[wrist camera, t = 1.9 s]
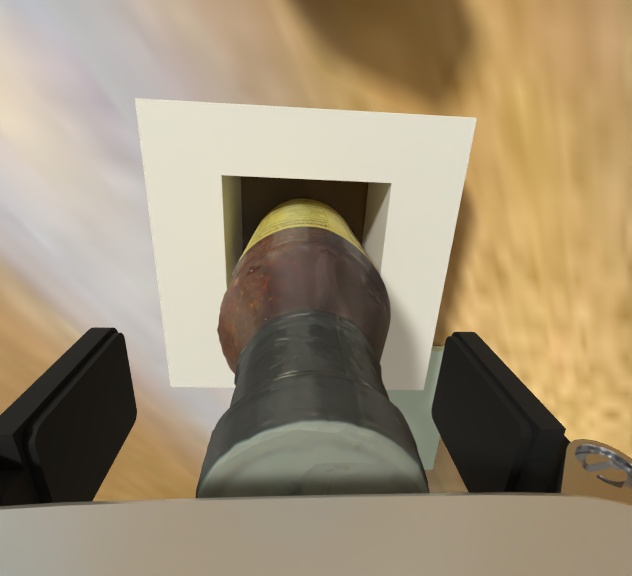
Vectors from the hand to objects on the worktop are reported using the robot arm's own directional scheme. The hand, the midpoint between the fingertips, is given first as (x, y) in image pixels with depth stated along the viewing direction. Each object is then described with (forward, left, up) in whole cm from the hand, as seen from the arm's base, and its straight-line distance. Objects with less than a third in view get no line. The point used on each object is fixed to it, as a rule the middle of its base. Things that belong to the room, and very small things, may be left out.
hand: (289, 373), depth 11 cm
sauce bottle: (-1, 0, -15) cm, 15 cm away
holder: (-1, 0, -15) cm, 15 cm away
